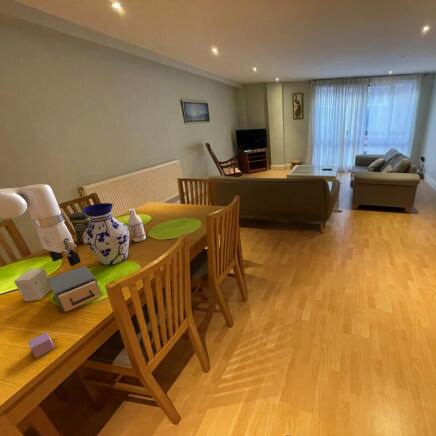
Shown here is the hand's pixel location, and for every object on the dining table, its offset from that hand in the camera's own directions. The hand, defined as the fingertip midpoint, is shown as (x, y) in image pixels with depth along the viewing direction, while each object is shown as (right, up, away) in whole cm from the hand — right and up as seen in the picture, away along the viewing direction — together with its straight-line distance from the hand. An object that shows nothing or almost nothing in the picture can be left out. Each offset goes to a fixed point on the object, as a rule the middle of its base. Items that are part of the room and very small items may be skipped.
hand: (67, 261), depth 90 cm
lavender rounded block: (+4, -26, -12) cm, 30 cm away
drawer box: (-6, -17, +11) cm, 21 cm away
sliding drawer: (-2, -17, +8) cm, 19 cm away
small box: (-23, -17, +12) cm, 31 cm away
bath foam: (-10, +3, +59) cm, 60 cm away
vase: (-9, -6, +37) cm, 39 cm away
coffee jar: (-41, +3, +58) cm, 71 cm away
